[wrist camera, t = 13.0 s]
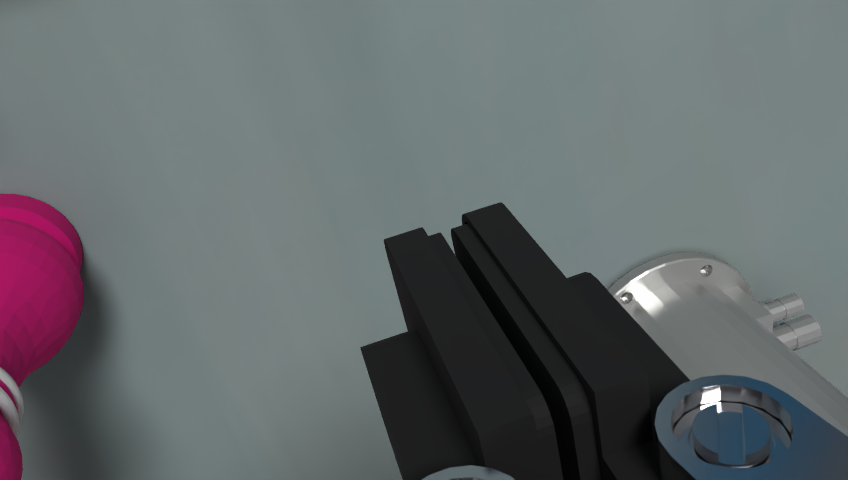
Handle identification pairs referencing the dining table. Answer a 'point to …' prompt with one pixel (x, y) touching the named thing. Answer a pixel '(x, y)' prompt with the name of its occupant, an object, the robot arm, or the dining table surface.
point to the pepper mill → (32, 305)
